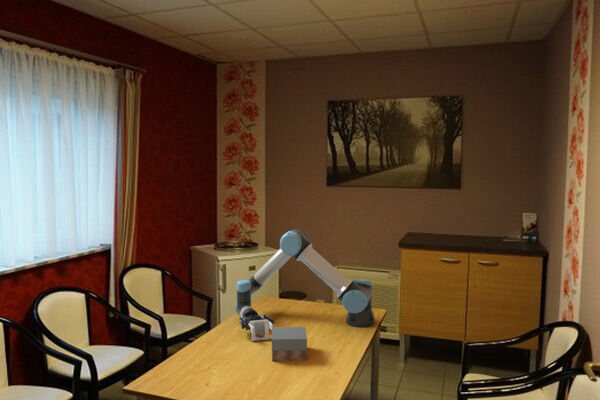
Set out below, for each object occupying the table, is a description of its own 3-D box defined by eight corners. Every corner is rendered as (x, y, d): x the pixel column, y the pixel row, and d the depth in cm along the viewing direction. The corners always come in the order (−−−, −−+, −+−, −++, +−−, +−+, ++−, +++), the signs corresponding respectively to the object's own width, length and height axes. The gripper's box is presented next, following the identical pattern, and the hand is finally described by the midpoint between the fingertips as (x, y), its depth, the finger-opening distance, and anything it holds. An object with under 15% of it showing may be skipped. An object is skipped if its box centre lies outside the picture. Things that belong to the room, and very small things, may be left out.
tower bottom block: (305, 348, 224) (305, 337, 224) (307, 361, 209) (307, 350, 209) (272, 348, 223) (272, 338, 223) (272, 362, 208) (272, 351, 208)
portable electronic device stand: (252, 342, 230) (252, 324, 230) (249, 336, 238) (249, 319, 237) (270, 340, 233) (270, 323, 232) (266, 334, 240) (266, 318, 240)
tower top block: (305, 337, 224) (305, 326, 223) (306, 350, 209) (306, 338, 208) (272, 338, 223) (272, 327, 223) (271, 350, 208) (271, 339, 208)
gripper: (269, 319, 256) (284, 333, 235) (228, 325, 248) (240, 340, 227) (269, 305, 255) (284, 318, 234) (228, 310, 247) (240, 324, 226)
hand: (262, 329), depth 231 cm, fingers closed on portable electronic device stand, 9 cm apart
